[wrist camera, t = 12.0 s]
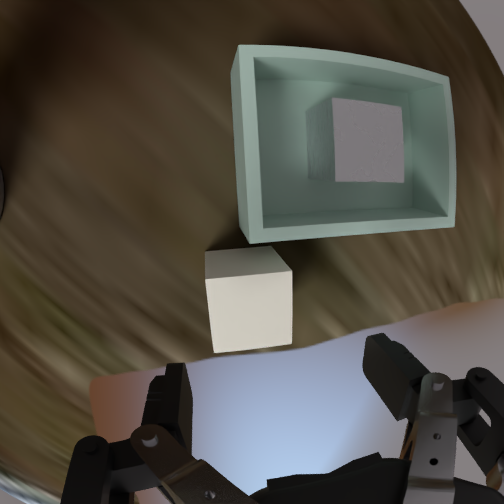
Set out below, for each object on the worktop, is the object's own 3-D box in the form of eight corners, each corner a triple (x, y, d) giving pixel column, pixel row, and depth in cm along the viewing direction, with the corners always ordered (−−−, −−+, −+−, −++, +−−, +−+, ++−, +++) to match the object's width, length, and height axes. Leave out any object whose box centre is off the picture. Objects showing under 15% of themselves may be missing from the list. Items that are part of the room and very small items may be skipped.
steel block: (305, 111, 20) (332, 97, 16) (365, 116, 21) (401, 106, 16) (307, 178, 22) (335, 181, 17) (367, 178, 22) (404, 182, 18)
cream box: (211, 311, 24) (214, 352, 18) (205, 251, 23) (205, 279, 17) (272, 305, 25) (291, 343, 19) (270, 245, 24) (292, 270, 18)
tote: (239, 226, 23) (249, 243, 17) (230, 72, 20) (238, 45, 14) (413, 214, 25) (454, 226, 19) (408, 88, 22) (448, 77, 16)
